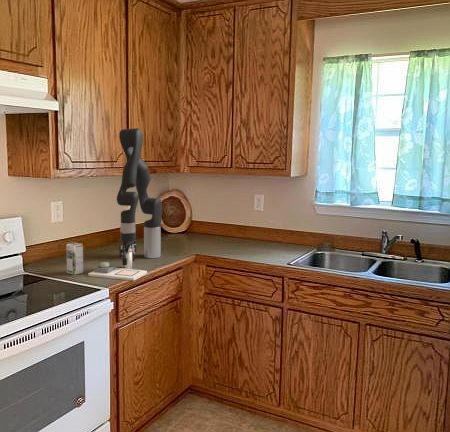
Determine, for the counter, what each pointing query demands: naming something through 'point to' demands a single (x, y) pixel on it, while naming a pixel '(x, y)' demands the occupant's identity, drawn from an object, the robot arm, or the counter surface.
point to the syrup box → (74, 258)
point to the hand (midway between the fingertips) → (128, 263)
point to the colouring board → (117, 273)
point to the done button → (104, 264)
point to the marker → (129, 260)
